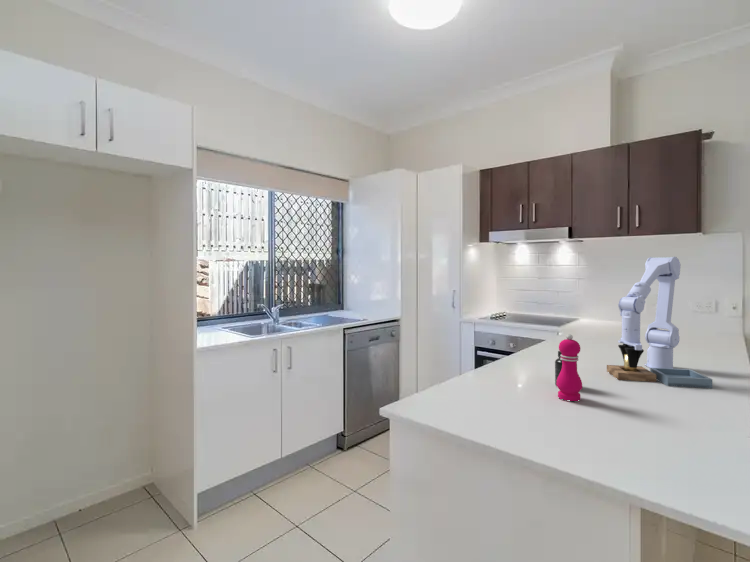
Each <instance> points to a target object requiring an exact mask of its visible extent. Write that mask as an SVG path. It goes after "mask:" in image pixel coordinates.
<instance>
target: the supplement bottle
mask: <svg viewBox="0 0 750 562" xmlns="http://www.w3.org/2000/svg"><path fill="white" fill-rule="evenodd" d="M561 354H562V353H561V352H560V350H558V351H557V357H558V358H557V359H555V361H554V384H555V386H556V387H557V385H556V382H557V378H558V376H559V374H560V372H561V369H562V360H561V359H560V358H561V356H560V355H561Z"/></svg>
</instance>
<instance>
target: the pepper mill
mask: <svg viewBox="0 0 750 562" xmlns="http://www.w3.org/2000/svg"><path fill="white" fill-rule="evenodd" d="M565 337H566V339H565V338H564V339H562V340H561V341H560V342H559V344H558V351H560V352H561V353H562V354H561V355H560V356H561V358H560V359H561V360H562V369H561V372H560V374H559V376H558V378H557V382H556V385H557V386H556V385H555V386H556V387H557V388H558V390H559V391H558V392H557V398H558V397H559V398H560V399H559V398H558V399H559V400H561V399H564V400H570V401H578V400H580V401H581V393H580V391H581V390H582V389H583V382H582V379H581V377H580V375H579V373H578V361H579V355H578V354H580V352H581V344H580V343H579V342H578V341H577V340H576V339H574V336H573V335H572V334H570V333H569V334H566V336H565ZM564 400H563V401H564ZM578 402H579V401H578Z"/></svg>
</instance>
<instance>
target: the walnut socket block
mask: <svg viewBox="0 0 750 562" xmlns="http://www.w3.org/2000/svg"><path fill="white" fill-rule="evenodd" d="M606 372H607V373H608V372H609V373H608V374H609V375H611V376H612V375H613V376H612V377H614V378H615V379H616V378H617V379H616V380H617V381H628V380H631V382H651V383H652V382H653V383H656V382H657V379H656V374H654V373H652V372H651V371H650V370H649V369H647V368H646V367H643V366H638V365H637V372H631V371H624V365H619V364H618V365H614V364H606Z"/></svg>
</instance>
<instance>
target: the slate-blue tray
mask: <svg viewBox="0 0 750 562" xmlns="http://www.w3.org/2000/svg"><path fill="white" fill-rule="evenodd" d="M649 369H650V370H649V371H651V372H652V373H654V374H656V381H658V382H660V383H662V384H664V385H665V386H667V387H678V388H679V387H680V388H681V387H682V388H701V389H702V388H703V389H713V379H712V378H711V377H709V376H706V375H704V374H702V373H700V372H697V371H695V370H693V369H692V368H688V369H687V368H674V369H670V368H649Z"/></svg>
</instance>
